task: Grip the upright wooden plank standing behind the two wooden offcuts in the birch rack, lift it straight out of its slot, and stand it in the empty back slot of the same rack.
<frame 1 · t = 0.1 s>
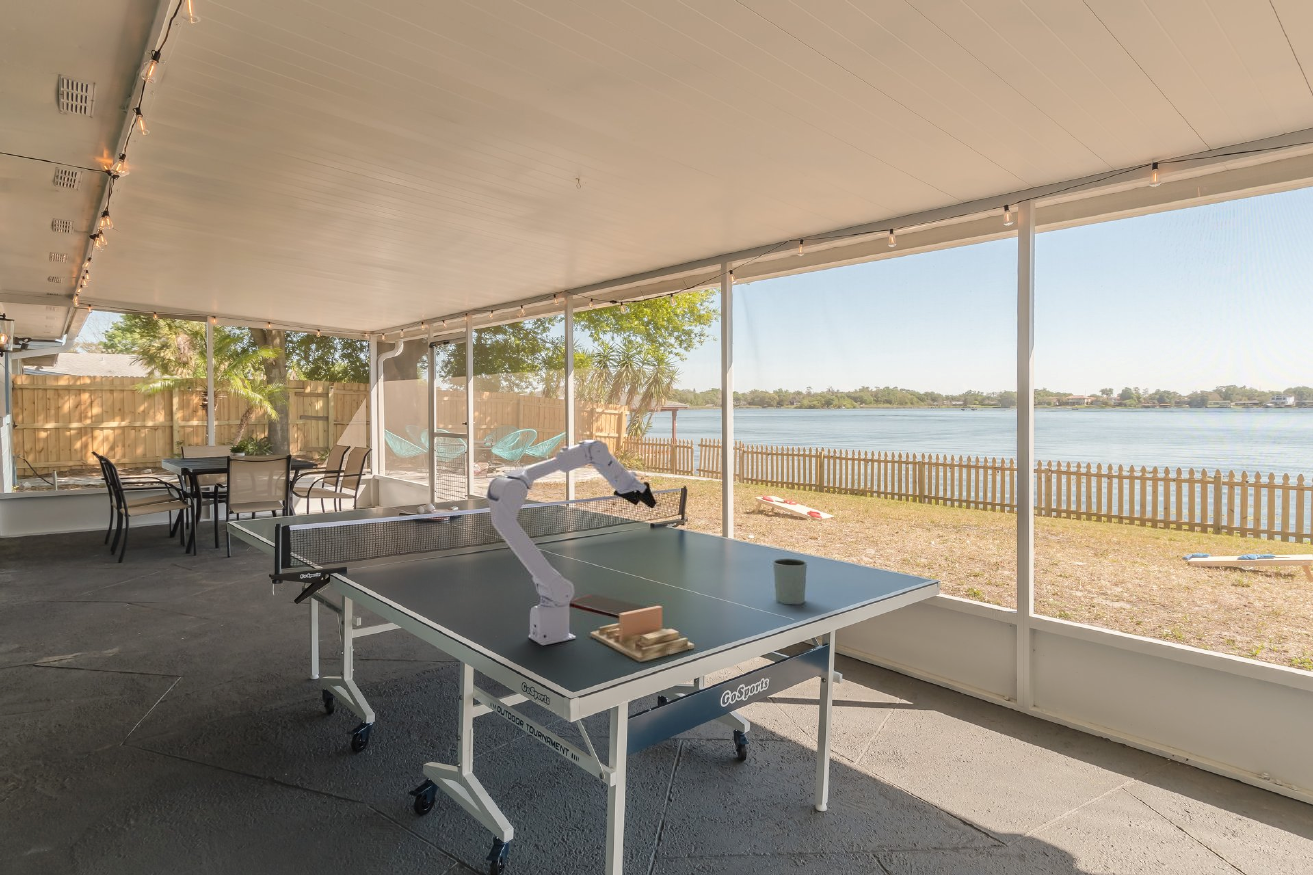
hand: (645, 503, 187), 32 cm above the table, tool tilted 50°, fingers open, 7 cm apart
green cup: (789, 601, 209), on the table
upright wooden plank: (640, 637, 170), point 1 cm above the table, touching rack
dark red board: (611, 610, 199), on the table
offcut upper: (660, 639, 164), point 2 cm above the table, touching offcut lower
offcut lower: (658, 646, 164), point 1 cm above the table, touching offcut upper, rack
rack: (638, 640, 170), on the table
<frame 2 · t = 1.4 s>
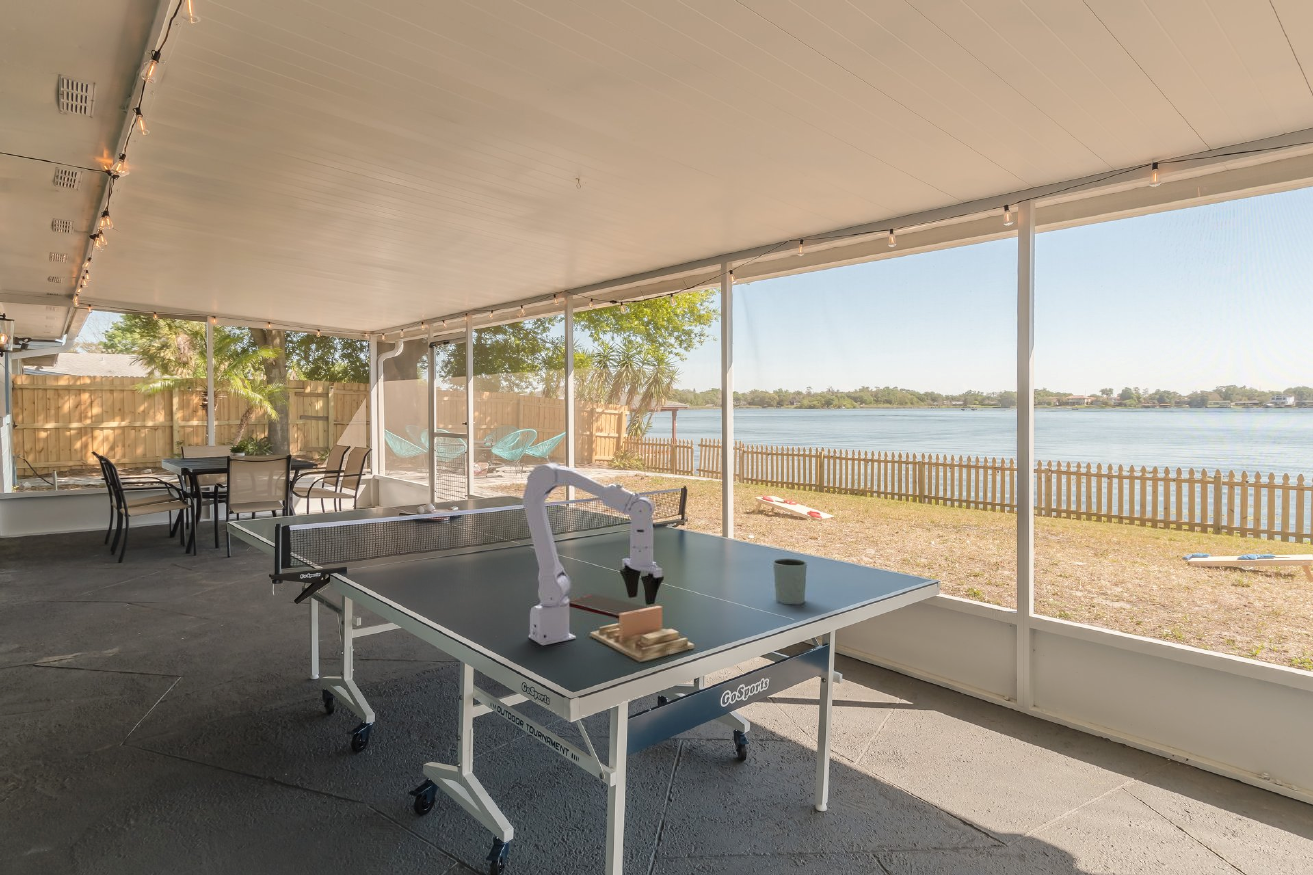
hand: (641, 600, 169), 10 cm above the table, tool pointing down, fingers open, 7 cm apart
nothing on the table moved.
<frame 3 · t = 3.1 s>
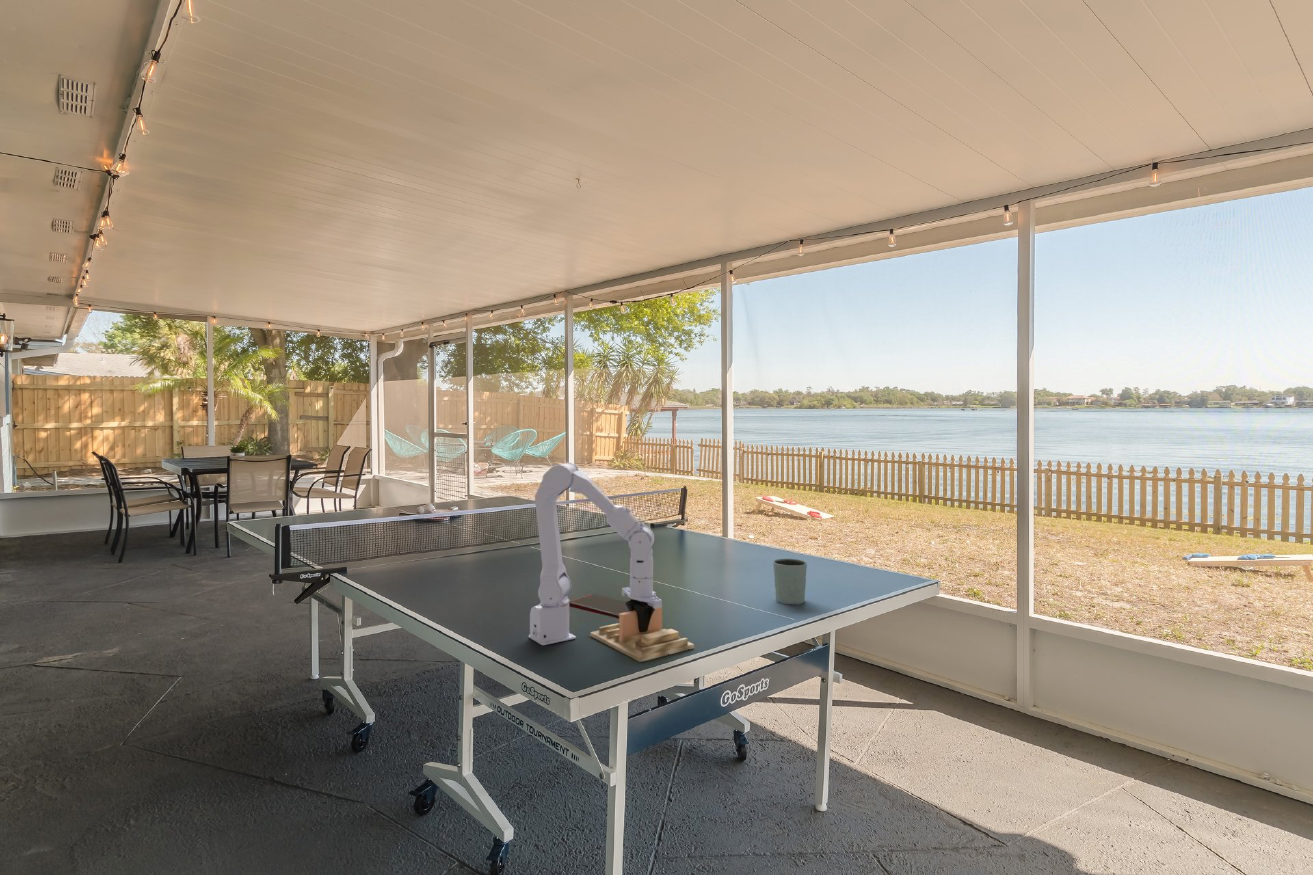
hand: (640, 630, 170), 3 cm above the table, tool pointing down, fingers closed on upright wooden plank, 1 cm apart
upright wooden plank: (640, 637, 170), point 1 cm above the table, touching gripper, rack
everything else where it was.
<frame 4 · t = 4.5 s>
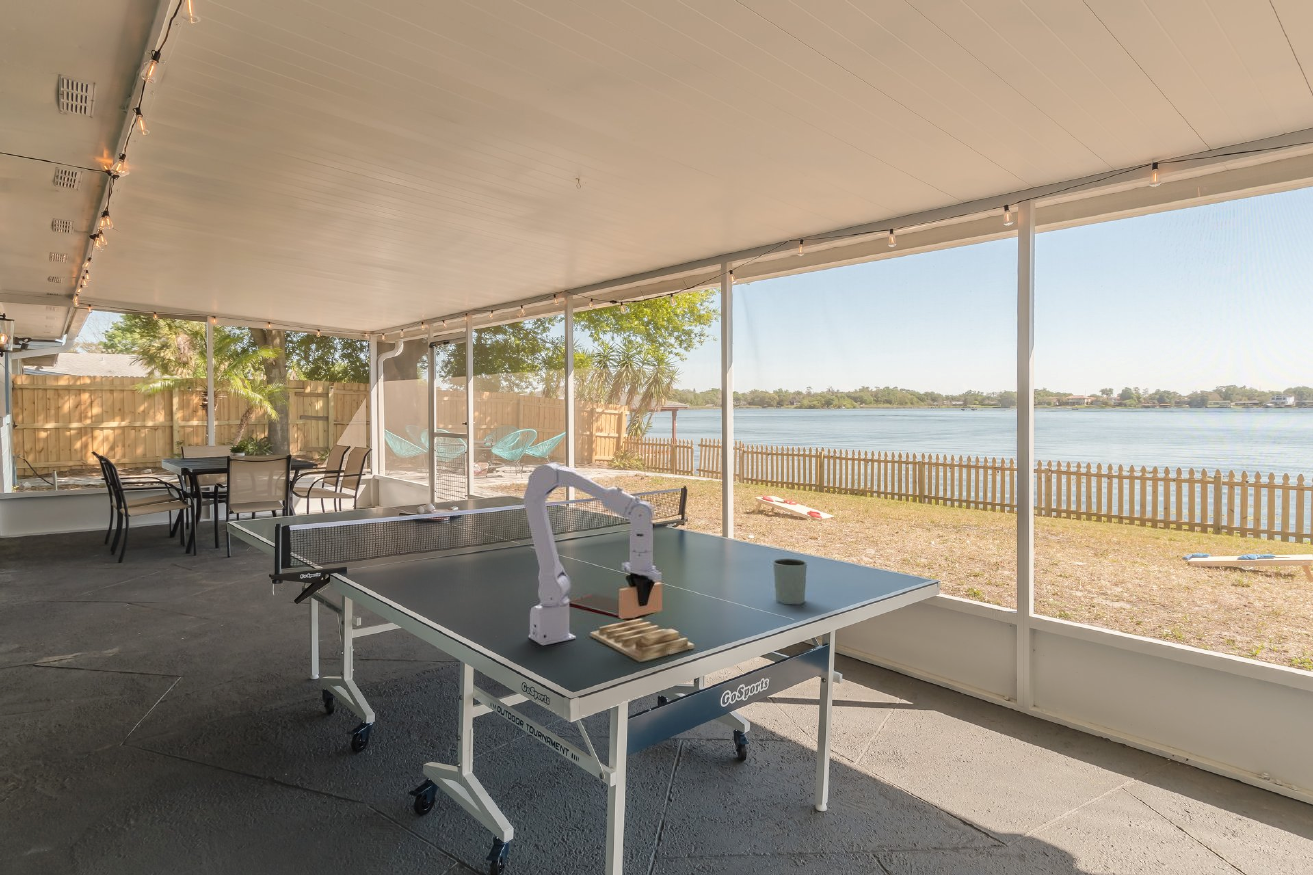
hand: (640, 604, 169), 9 cm above the table, tool pointing down, fingers closed on upright wooden plank
upright wooden plank: (640, 614, 170), point 7 cm above the table, touching gripper
everything else where it was.
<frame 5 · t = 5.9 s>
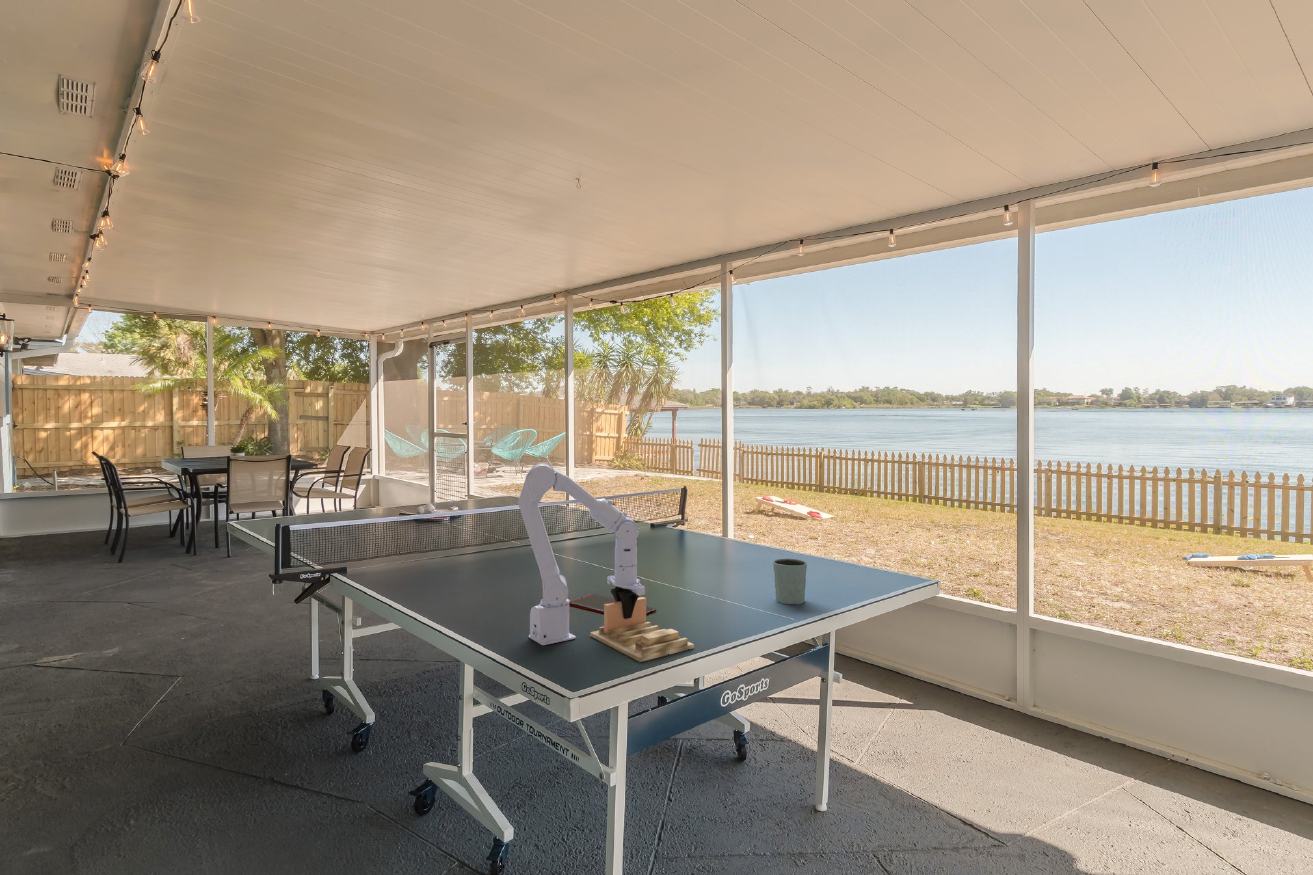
hand: (625, 616, 175), 5 cm above the table, tool pointing down, fingers closed on upright wooden plank, 1 cm apart
upright wooden plank: (625, 628, 175), point 2 cm above the table, touching gripper
everything else where it was.
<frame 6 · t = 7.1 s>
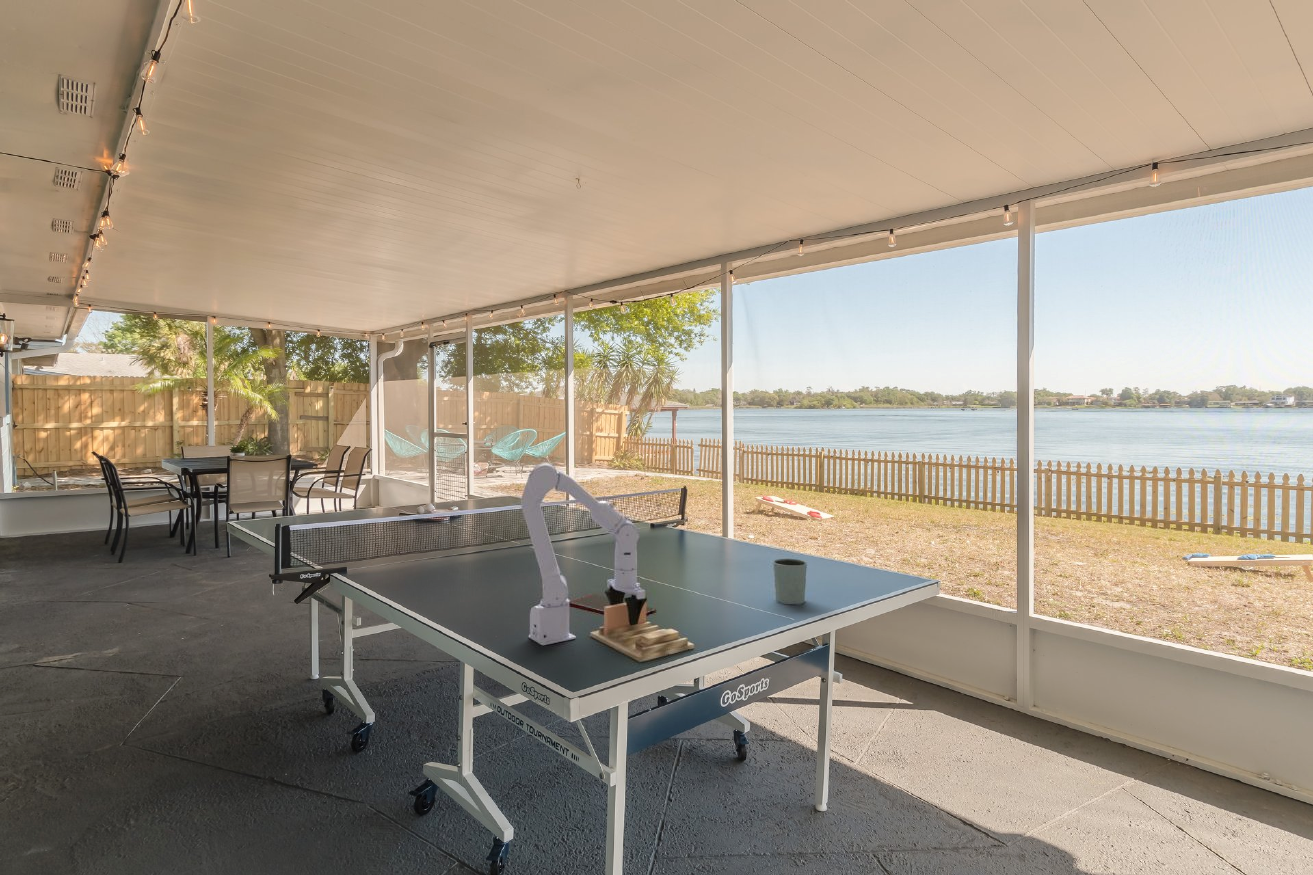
hand: (625, 620, 175), 4 cm above the table, tool pointing down, fingers open, 7 cm apart
upright wooden plank: (625, 630, 175), point 1 cm above the table, touching rack
everything else where it was.
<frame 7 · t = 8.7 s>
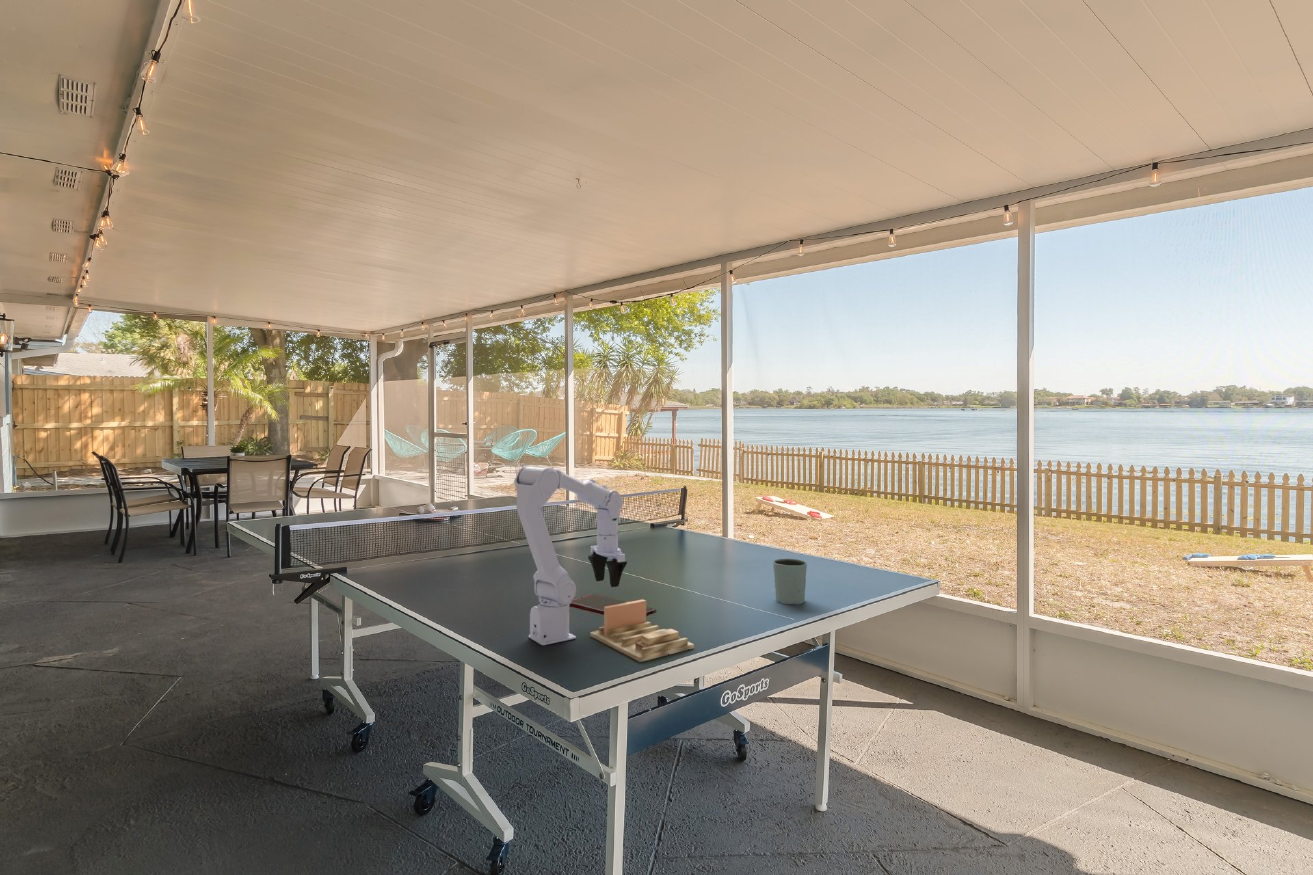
hand: (607, 583, 186), 10 cm above the table, tool pointing down, fingers open, 7 cm apart
nothing on the table moved.
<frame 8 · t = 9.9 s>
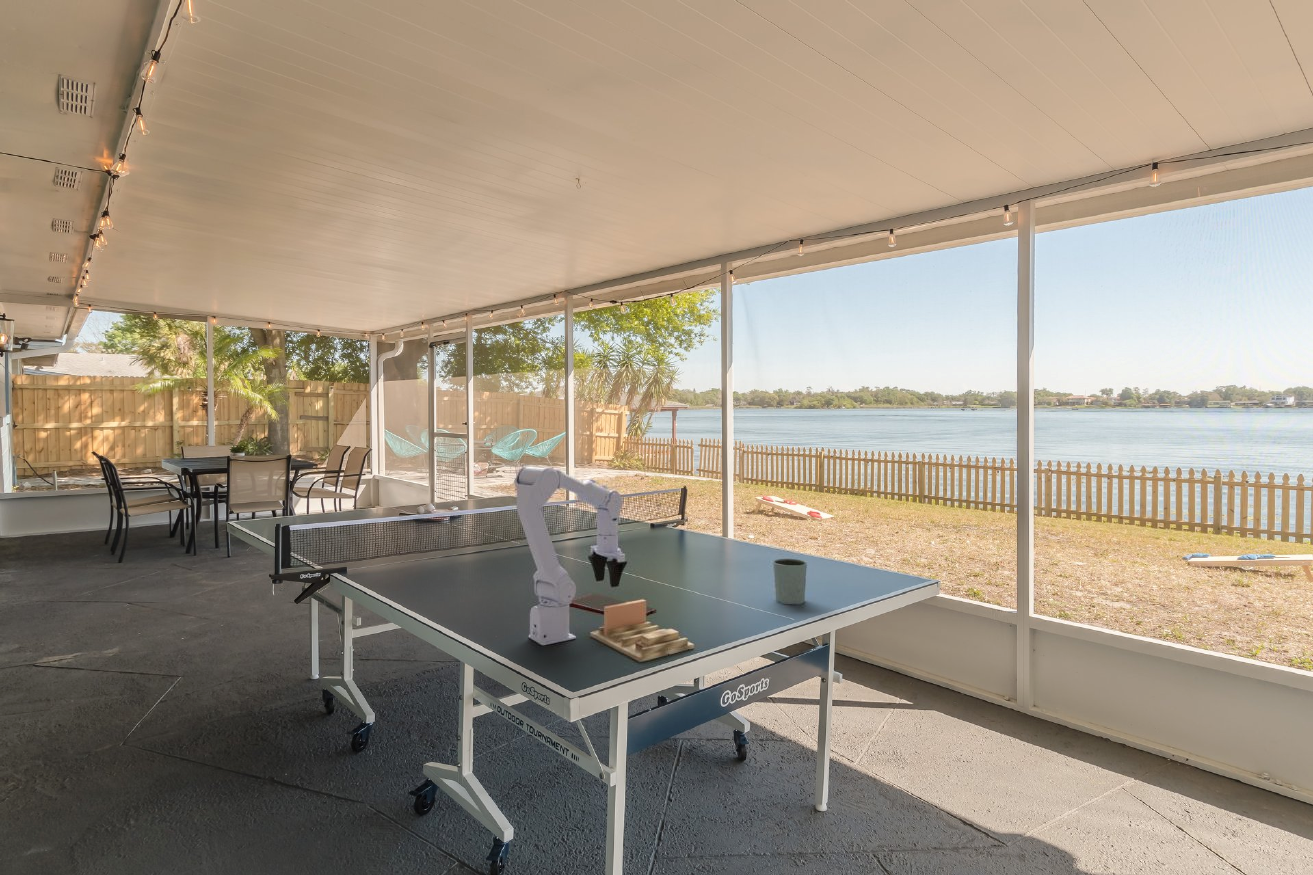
hand: (607, 583, 186), 10 cm above the table, tool pointing down, fingers open, 7 cm apart
nothing on the table moved.
at the end: upright wooden plank 0.0 cm from the target spot, point 1.0 cm above the table; upright wooden plank tilted 0°; offcut upper moved 0.0 cm from its start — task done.
